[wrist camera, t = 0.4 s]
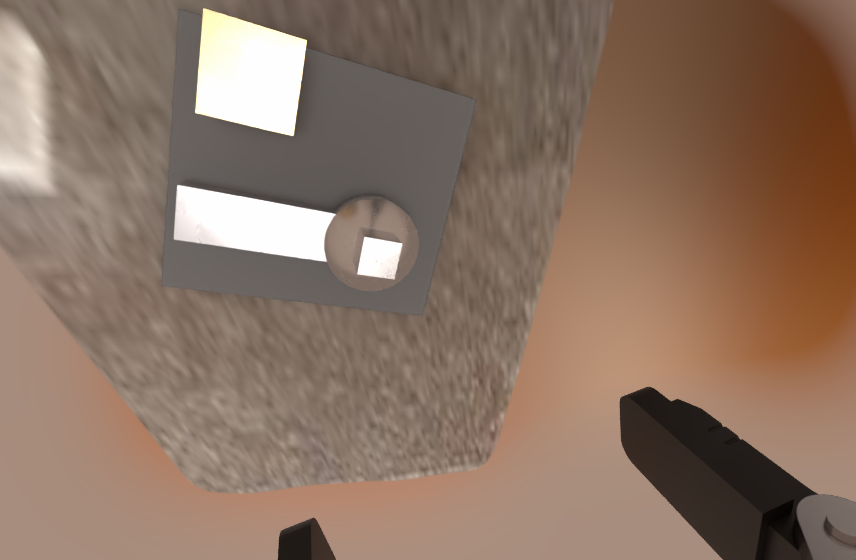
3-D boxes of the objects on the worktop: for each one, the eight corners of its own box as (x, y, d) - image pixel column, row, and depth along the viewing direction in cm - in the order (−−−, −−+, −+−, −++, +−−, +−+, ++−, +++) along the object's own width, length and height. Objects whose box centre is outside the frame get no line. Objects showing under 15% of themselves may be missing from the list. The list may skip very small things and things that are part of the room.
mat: (181, 11, 26) (178, 8, 26) (473, 100, 33) (476, 99, 32) (164, 282, 31) (161, 285, 31) (420, 312, 38) (422, 315, 37)
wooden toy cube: (223, 31, 26) (203, 8, 21) (305, 56, 28) (306, 40, 23) (215, 114, 28) (195, 112, 22) (294, 133, 30) (293, 136, 24)
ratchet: (186, 155, 28) (162, 162, 23) (420, 203, 34) (440, 217, 29) (179, 255, 30) (155, 281, 25) (401, 285, 36) (417, 311, 31)
